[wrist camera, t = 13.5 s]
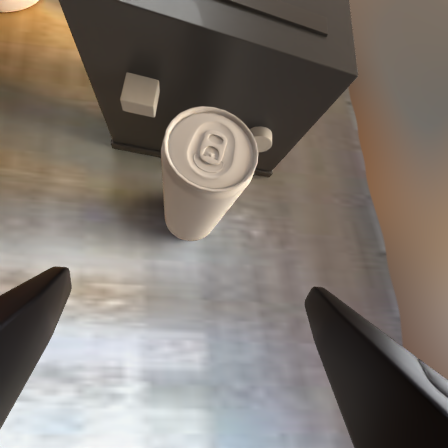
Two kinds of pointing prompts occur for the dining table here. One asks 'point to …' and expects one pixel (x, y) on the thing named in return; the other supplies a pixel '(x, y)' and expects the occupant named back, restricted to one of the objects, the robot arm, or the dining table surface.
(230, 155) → the beverage can
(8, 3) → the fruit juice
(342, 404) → the robot arm
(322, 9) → the toaster
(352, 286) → the dining table surface
